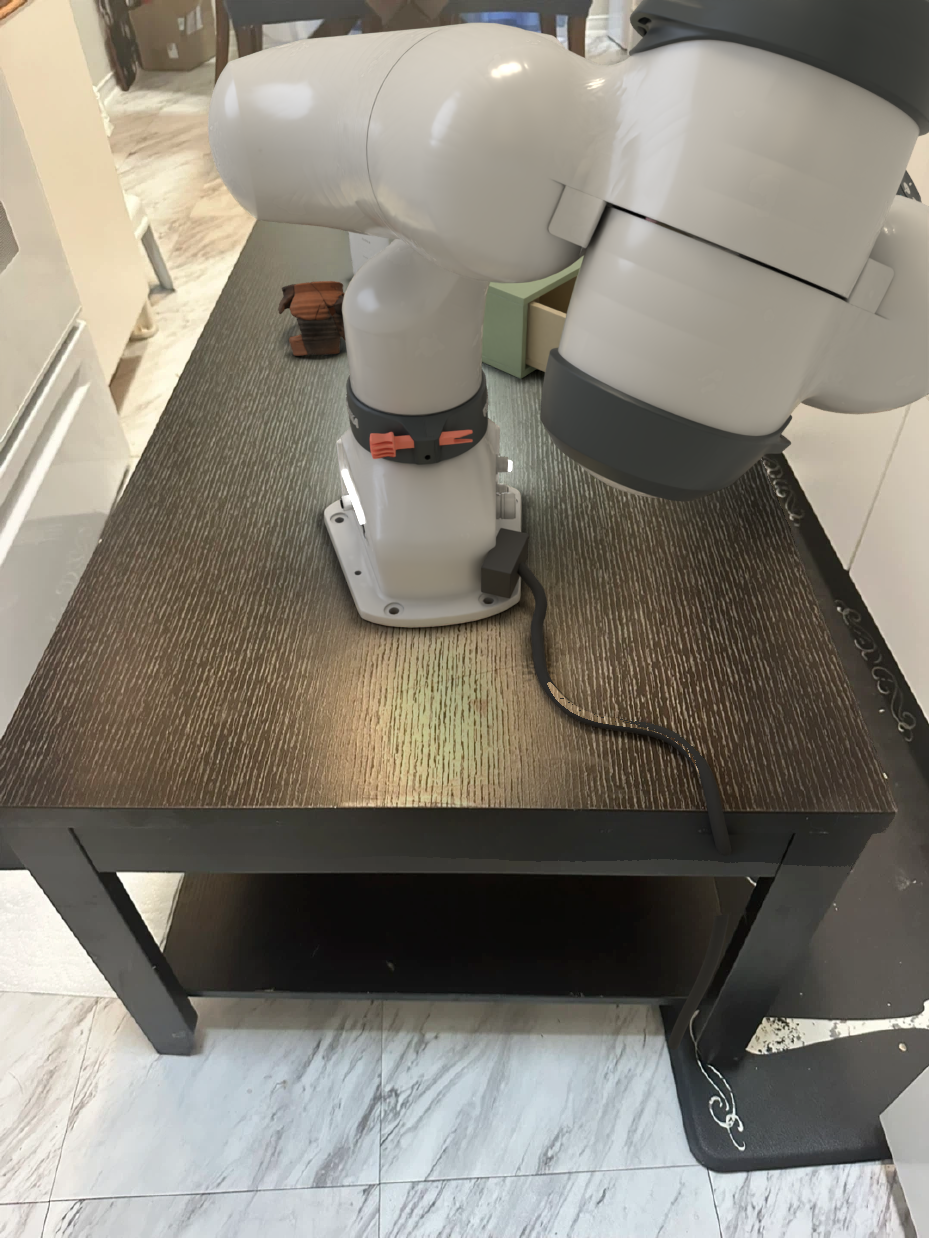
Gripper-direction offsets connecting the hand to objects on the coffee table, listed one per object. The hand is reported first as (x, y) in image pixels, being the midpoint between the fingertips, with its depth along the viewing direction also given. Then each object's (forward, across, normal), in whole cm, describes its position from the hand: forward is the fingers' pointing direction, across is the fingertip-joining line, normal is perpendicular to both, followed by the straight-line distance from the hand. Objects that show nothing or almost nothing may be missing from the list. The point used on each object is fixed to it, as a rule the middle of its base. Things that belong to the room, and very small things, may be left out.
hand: (648, 345), depth 95 cm
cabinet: (+18, 0, +10) cm, 21 cm away
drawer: (+10, 0, +3) cm, 10 cm away
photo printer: (+33, -1, +24) cm, 41 cm away
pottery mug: (+29, -15, +21) cm, 39 cm away
